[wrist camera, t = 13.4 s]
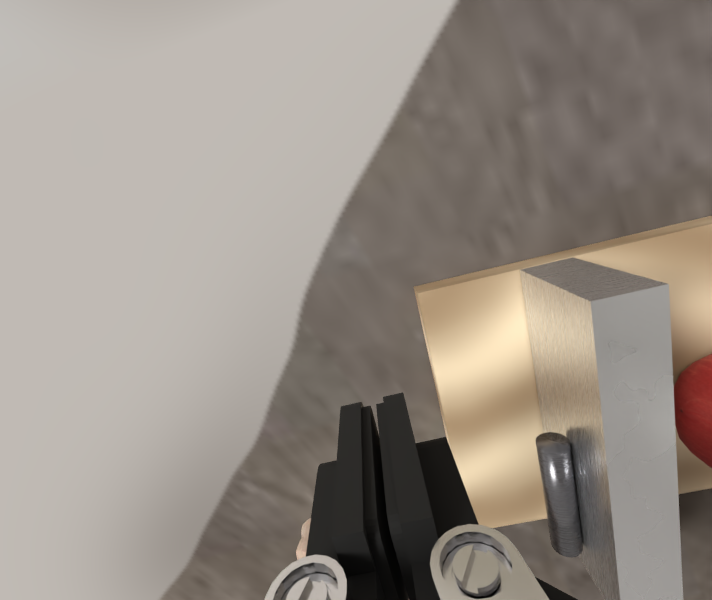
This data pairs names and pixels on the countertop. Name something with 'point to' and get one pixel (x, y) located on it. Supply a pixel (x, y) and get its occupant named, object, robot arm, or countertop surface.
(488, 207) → the countertop surface
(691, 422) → the onion
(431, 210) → the countertop surface
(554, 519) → the vise jaw
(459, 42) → the countertop surface
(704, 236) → the vise base
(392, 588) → the robot arm
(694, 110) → the countertop surface
